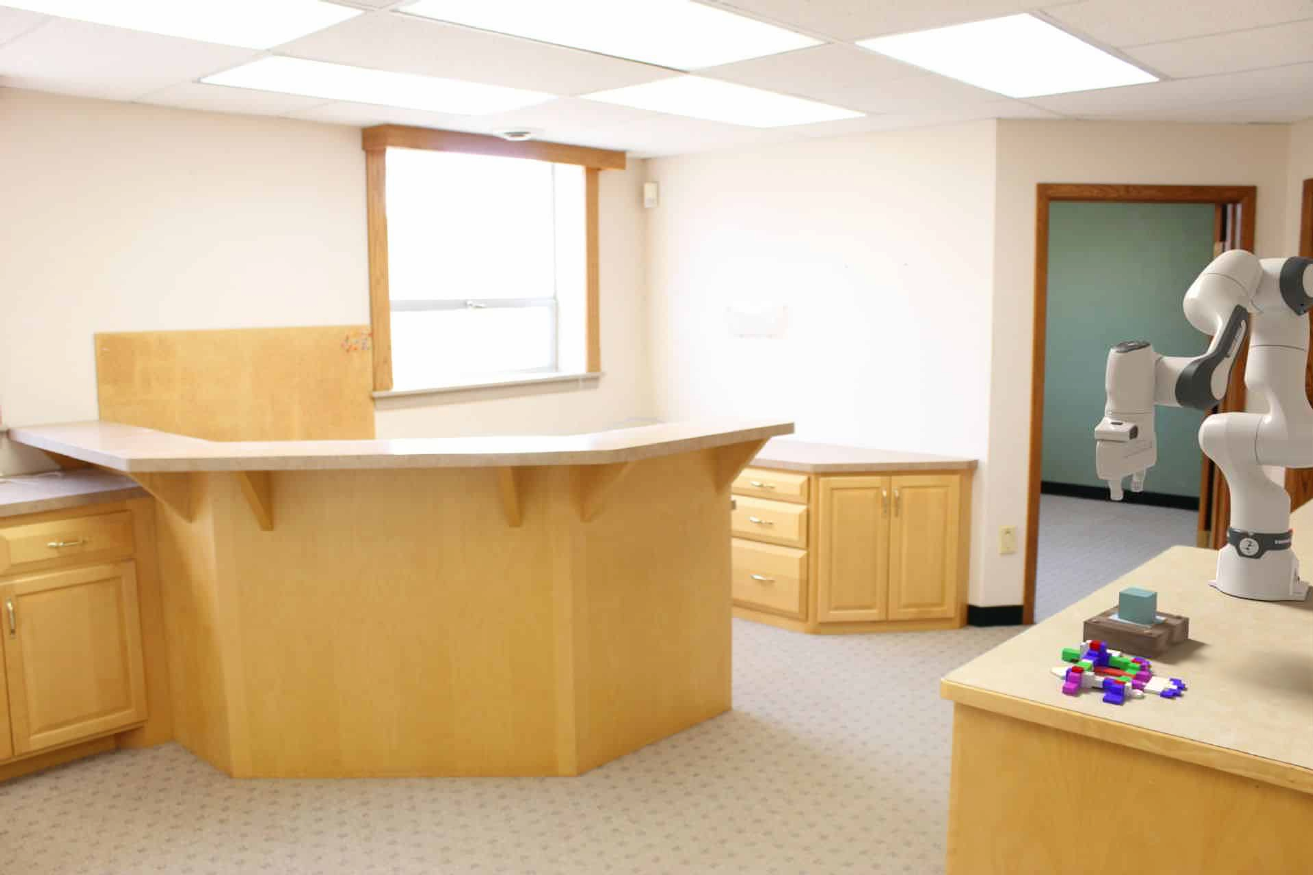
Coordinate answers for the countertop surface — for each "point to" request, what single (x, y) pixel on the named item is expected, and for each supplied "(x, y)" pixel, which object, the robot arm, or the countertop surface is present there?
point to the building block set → (1112, 674)
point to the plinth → (1137, 632)
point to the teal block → (1137, 605)
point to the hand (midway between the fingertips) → (1126, 495)
